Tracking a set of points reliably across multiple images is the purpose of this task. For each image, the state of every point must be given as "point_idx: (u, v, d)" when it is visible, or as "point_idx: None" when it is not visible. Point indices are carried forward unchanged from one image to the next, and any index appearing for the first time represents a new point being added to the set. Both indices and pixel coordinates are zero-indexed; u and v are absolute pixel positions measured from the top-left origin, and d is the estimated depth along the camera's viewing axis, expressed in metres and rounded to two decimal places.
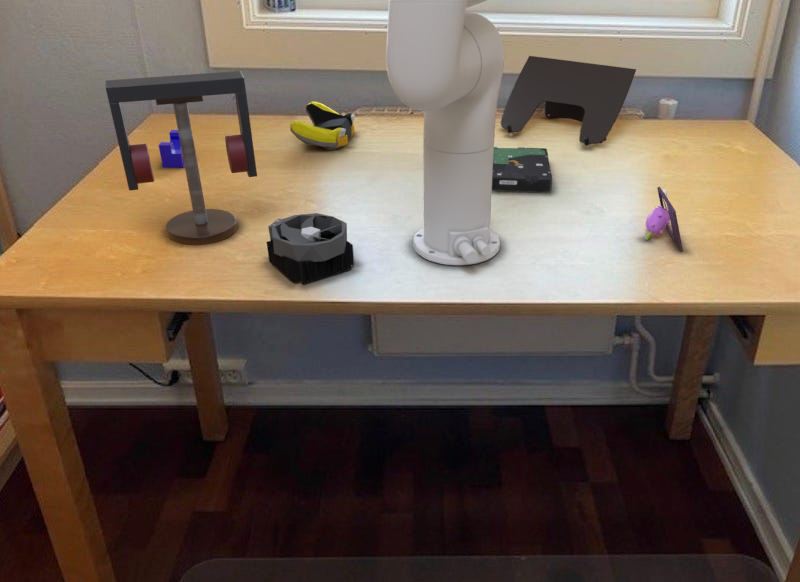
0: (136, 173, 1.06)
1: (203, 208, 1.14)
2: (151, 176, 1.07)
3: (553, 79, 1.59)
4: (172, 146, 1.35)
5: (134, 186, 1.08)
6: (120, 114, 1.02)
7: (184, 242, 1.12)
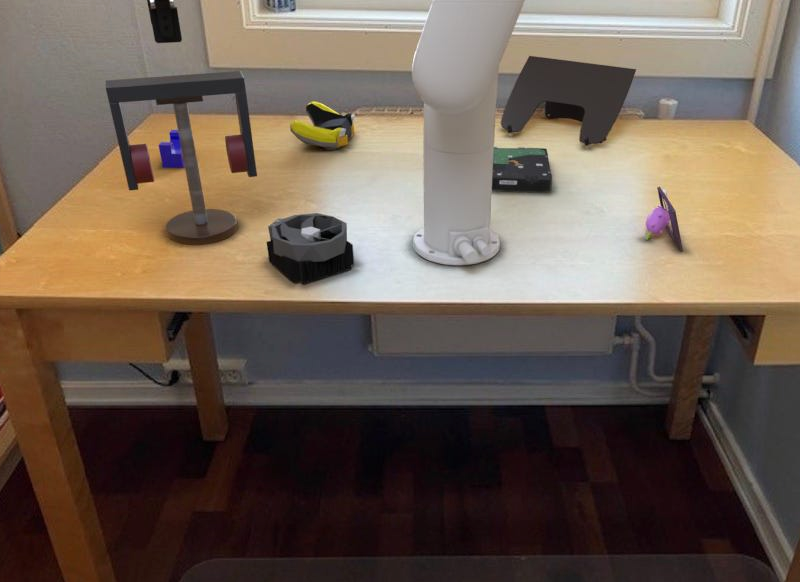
0: (136, 173, 1.06)
1: (203, 208, 1.14)
2: (151, 176, 1.07)
3: (553, 79, 1.59)
4: (172, 146, 1.35)
5: (134, 186, 1.08)
6: (120, 114, 1.02)
7: (184, 242, 1.12)
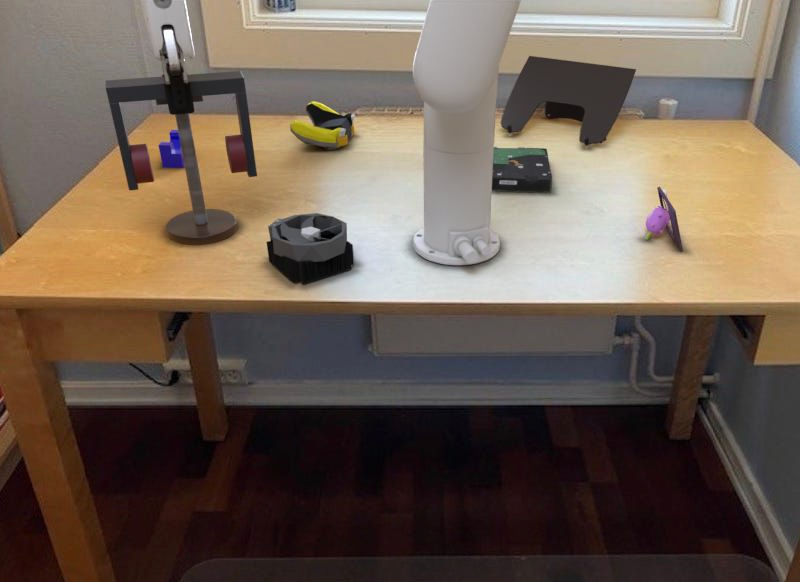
0: (136, 173, 1.06)
1: (203, 208, 1.14)
2: (151, 176, 1.07)
3: (553, 79, 1.59)
4: (172, 146, 1.35)
5: (134, 186, 1.08)
6: (120, 114, 1.02)
7: (184, 242, 1.12)
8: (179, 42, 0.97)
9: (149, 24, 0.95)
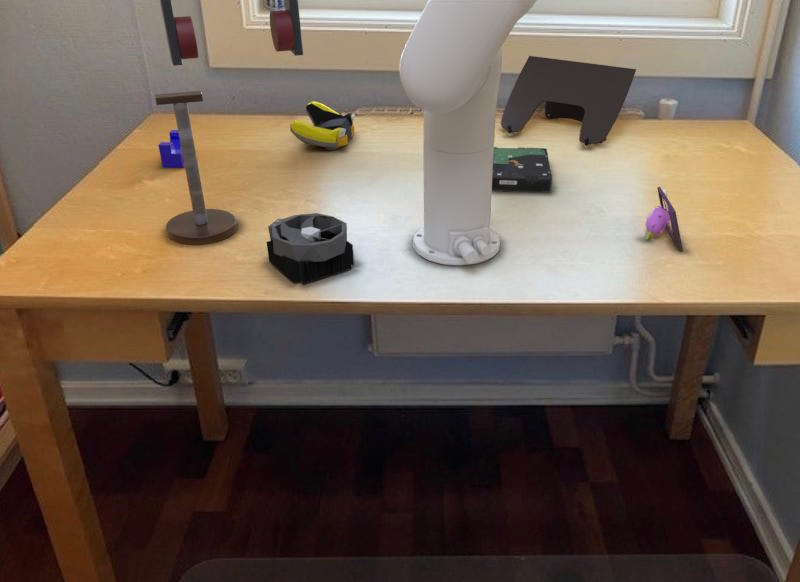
0: (181, 45, 1.02)
1: (203, 208, 1.14)
2: (196, 49, 1.03)
3: (553, 79, 1.59)
4: (172, 146, 1.35)
5: (178, 61, 1.03)
6: None
7: (184, 242, 1.12)
8: None
9: None
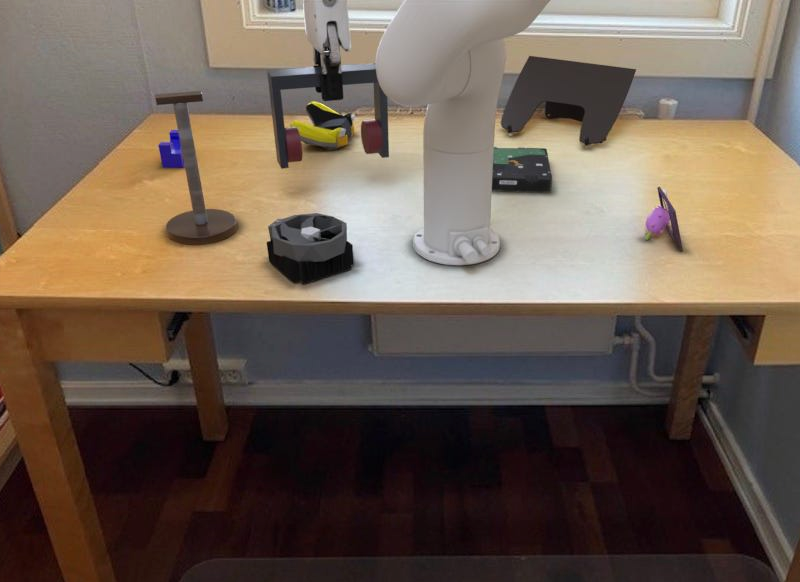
0: (289, 153, 1.19)
1: (203, 208, 1.14)
2: (301, 156, 1.21)
3: (553, 79, 1.59)
4: (172, 146, 1.35)
5: (285, 165, 1.21)
6: (280, 100, 1.16)
7: (184, 242, 1.12)
8: (340, 36, 1.11)
9: (316, 21, 1.09)
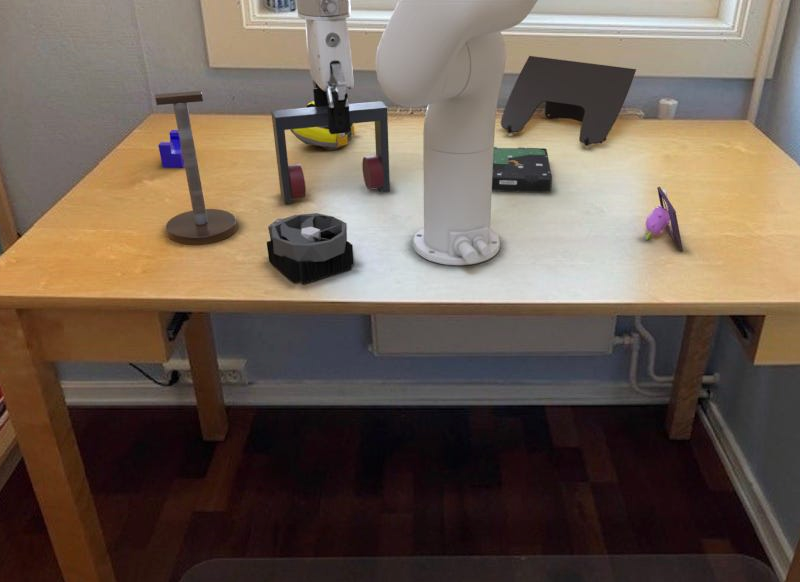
0: (293, 190, 1.23)
1: (203, 208, 1.14)
2: (304, 192, 1.24)
3: (553, 79, 1.59)
4: (172, 146, 1.35)
5: (289, 201, 1.24)
6: (284, 140, 1.19)
7: (184, 242, 1.12)
8: (343, 75, 1.13)
9: (320, 60, 1.12)
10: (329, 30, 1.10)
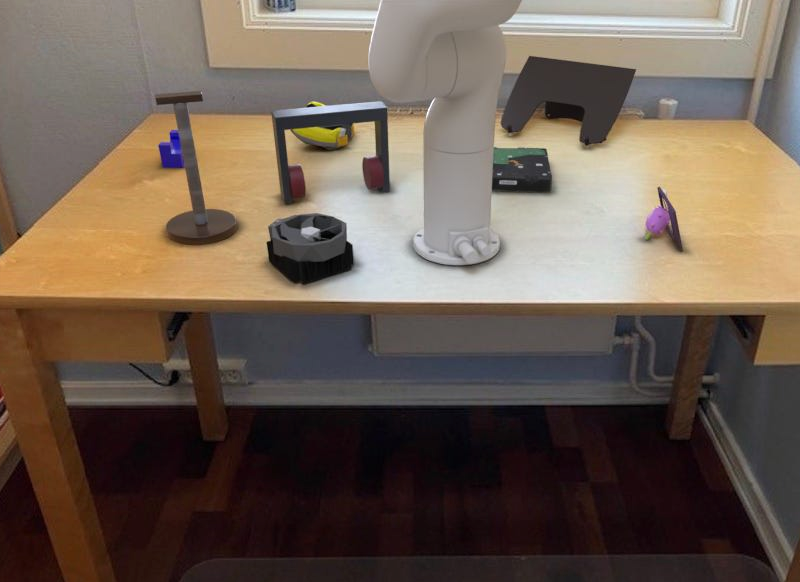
0: (293, 190, 1.23)
1: (203, 208, 1.14)
2: (304, 192, 1.24)
3: (553, 79, 1.59)
4: (172, 146, 1.35)
5: (289, 201, 1.24)
6: (284, 140, 1.19)
7: (184, 242, 1.12)
8: None
9: None
10: None
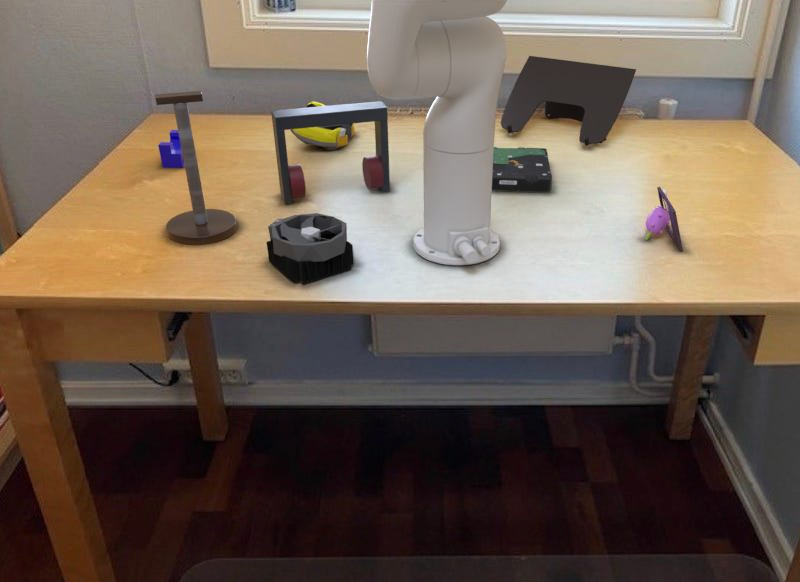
0: (293, 190, 1.23)
1: (203, 208, 1.14)
2: (304, 192, 1.24)
3: (553, 79, 1.59)
4: (172, 146, 1.35)
5: (289, 201, 1.24)
6: (284, 140, 1.19)
7: (184, 242, 1.12)
8: None
9: None
10: None
